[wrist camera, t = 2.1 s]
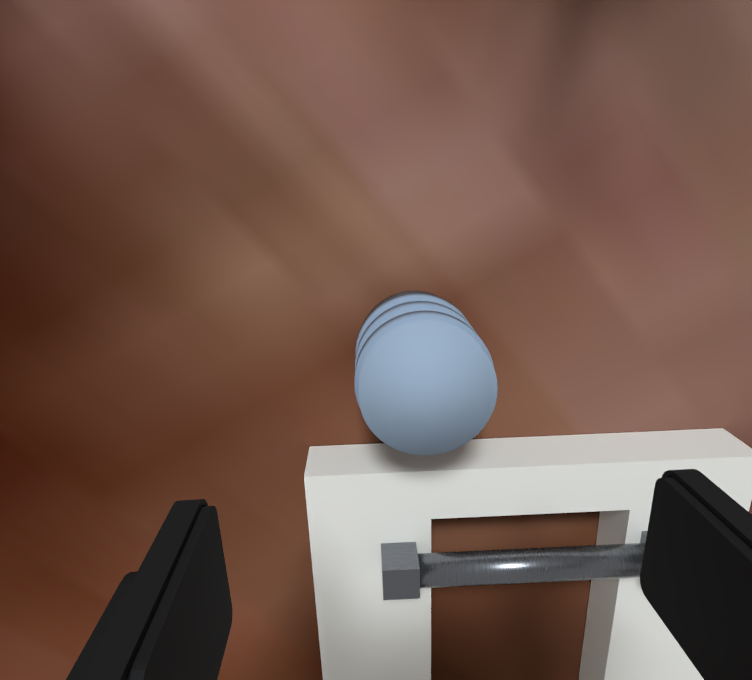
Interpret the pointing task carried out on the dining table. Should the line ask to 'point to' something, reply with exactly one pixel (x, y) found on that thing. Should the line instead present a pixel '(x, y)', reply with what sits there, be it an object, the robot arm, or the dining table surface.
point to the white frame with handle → (495, 498)
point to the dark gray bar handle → (503, 566)
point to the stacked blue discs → (423, 375)
